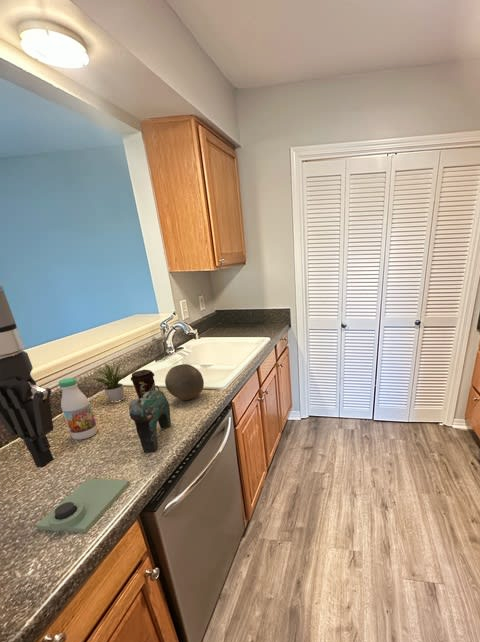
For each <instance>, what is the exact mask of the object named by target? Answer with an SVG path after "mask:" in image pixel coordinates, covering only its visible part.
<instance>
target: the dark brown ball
mask: <svg viewBox="0 0 480 642" xmlns="http://www.w3.org/2000/svg"><path fill="white" fill-rule="evenodd" d="M166 373H167V374H166V375H165V380H164V382H165V383H164V384H165V388H166V389H167V391H168V393H169V394H170V395H171V396H173V397H174V398H176V399H178V400H181V401H190V400H193V399H196V398H197V397H199V395H200V394H202V392H203V390H204V386H205V385H204V384H205V382H204V378H203V374H202V373H201V372H200V371H199V370H198V369H197V367H196V366H193V365H192V364H188V363H182V364H177V365H175V366H172V367H171V368H170V369H169V370H168V372H166Z"/></svg>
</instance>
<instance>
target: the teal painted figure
mask: <svg viewBox="0 0 480 642" xmlns="http://www.w3.org/2000/svg"><path fill="white" fill-rule="evenodd" d="M143 385H145V386H146V384H142V385H141V387H140V393H141V396H142V398H141V399H139V398H135V399H132V400H131V401H130V402H129V406H128V413H129V417H130V419H131V420H132V421H133V422H134V425H135V428H136V433H137V436H138V439H139V441H140V446H141V448H142V451H143V453H145V454H146V453H156V452H157V450H158V448H159V444H158V436H157V435H158V434H157V433H158V432H157V431H158V430H157V426H158V425H159V428H160V429H161V428H162V429H169V428H171V425H172V420H171V407H170V404H169V400H168V398H167V396H166V395H165V394H164V392H163V391H162V390H160V388H159V386H158V385H155V386H153V387H152V388H151V389H150V391H148V392H147V393H145V394H144V395H142V392H141V391H142V386H143ZM153 388H155V389H156V388H157V389H156V390H155V391H152V389H153Z"/></svg>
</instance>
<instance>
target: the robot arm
mask: <svg viewBox="0 0 480 642" xmlns="http://www.w3.org/2000/svg"><path fill="white" fill-rule="evenodd" d="M9 304H10V303H9V301H8V299H7V296H6V293H5V291H4V287H3V284H2V283H1V282H0V422H1V423H2V425H3V426H4V428H5V429H6V430H7V432H8V433H9V435H10V436H12V437H16V436H18V438H20V439H21V440H23V443H24V445H25V447H26V450H27V451H28V452H29V453H30V455H31V458H32V460H33V462H34V465H35V467H36V468H45V467H46V466H47V465H49V464H50V463H51V462H53V461H54V460H55V458H54V456H53V453H52V451H51V449H50V448H51V445H50V442H49V440H48V437H47V435H48V434H49V433H51V432H53V431H54V430H55V428H54V423H53V422H54V421H53V415H52V408H51V401H50V397H51V395H52V390H51V388H49V387H45V388H43V387H41V386H38V385H37V382H36V380H35V379H34V378H33V376H32V375H31V374H32V371H33V369H34V368H33V365H32V362H31V359H30V357H29V354H28V352H26V351H25V350H24V349H25V347H26V346H25V345H24V342H23V339H22V337H21V334H20V331H19V328H18V326H17V324H16V321H15V317H14V314H13V313H12V310H11V307H10V305H9Z"/></svg>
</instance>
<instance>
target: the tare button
mask: <svg viewBox="0 0 480 642" xmlns="http://www.w3.org/2000/svg"><path fill="white" fill-rule="evenodd" d="M57 506H58V505H57ZM57 506H56V507H57ZM56 507H55V508H56ZM55 508H54V509H55ZM75 512H76V508H75V506H74V503H72V502H67V503H63V504H61V505H60V506H58V507H57V508H56V509H55V514H56V517H57V519H59V520H62V519H65V518H68V517H70V516H71V515H73V514H74V513H75Z"/></svg>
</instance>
